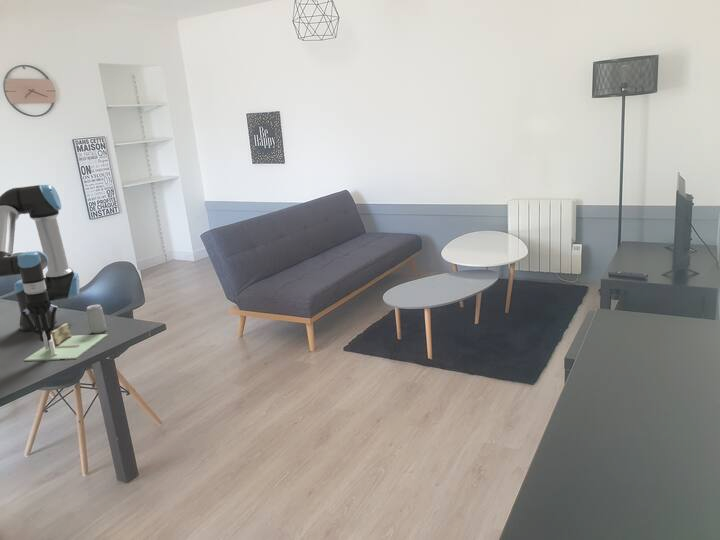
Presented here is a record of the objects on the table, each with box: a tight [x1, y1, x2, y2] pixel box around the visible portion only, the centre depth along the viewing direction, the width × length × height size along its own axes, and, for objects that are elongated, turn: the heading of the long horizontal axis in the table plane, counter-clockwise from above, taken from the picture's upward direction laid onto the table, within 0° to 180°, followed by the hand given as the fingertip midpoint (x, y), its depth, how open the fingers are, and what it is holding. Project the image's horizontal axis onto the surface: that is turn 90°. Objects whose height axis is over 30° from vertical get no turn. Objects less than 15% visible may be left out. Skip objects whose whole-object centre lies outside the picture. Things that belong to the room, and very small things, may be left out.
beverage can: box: [85, 303, 107, 335], centre depth 245 cm, size 6×6×12 cm
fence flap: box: [49, 334, 57, 356], centre depth 225 cm, size 9×2×6 cm, turn 29°
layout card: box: [23, 333, 109, 362], centre depth 231 cm, size 24×22×1 cm
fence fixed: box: [50, 322, 73, 347], centre depth 235 cm, size 12×2×8 cm, turn 175°
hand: (48, 347), depth 223 cm, fingers closed
